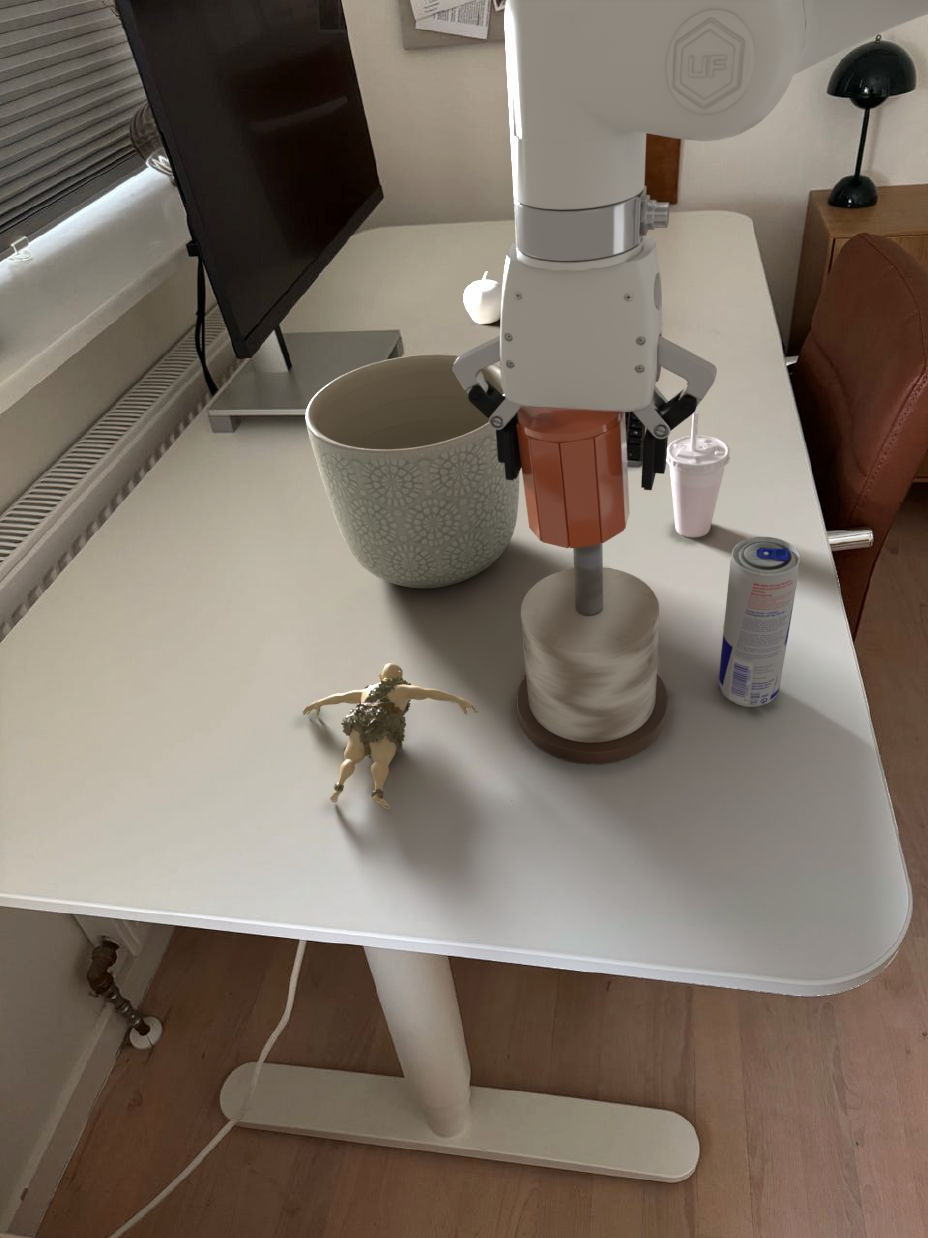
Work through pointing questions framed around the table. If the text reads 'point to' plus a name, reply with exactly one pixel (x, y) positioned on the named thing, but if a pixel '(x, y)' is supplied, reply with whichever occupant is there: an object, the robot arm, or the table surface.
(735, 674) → the beverage can
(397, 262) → the table surface
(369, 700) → the figurine
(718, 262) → the table surface
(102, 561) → the table surface
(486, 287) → the plain white apple
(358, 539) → the planter
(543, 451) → the orange brown faceted cylinder
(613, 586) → the towel holder
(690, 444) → the smoothie
